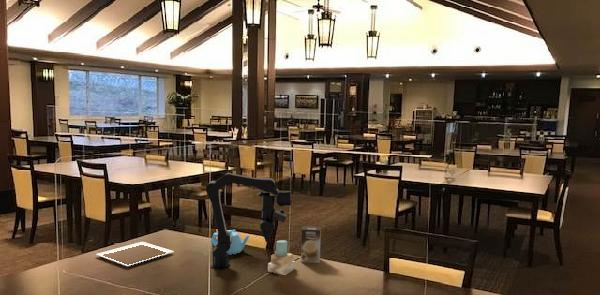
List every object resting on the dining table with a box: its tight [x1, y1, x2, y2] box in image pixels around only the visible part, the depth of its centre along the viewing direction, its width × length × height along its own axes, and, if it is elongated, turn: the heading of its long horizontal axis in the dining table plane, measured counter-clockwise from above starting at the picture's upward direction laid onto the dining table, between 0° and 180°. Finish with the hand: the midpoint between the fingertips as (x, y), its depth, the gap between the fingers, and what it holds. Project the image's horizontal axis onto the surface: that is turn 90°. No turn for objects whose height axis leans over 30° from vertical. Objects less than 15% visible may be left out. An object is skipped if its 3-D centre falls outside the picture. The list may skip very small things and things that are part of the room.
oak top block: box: [270, 252, 294, 266], centre depth 202 cm, size 7×7×4 cm
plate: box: [95, 241, 175, 267], centre depth 219 cm, size 26×26×2 cm
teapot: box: [210, 229, 250, 256], centre depth 228 cm, size 15×15×11 cm
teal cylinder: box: [275, 239, 288, 257], centre depth 201 cm, size 5×5×6 cm
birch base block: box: [267, 260, 296, 276], centre depth 202 cm, size 9×9×4 cm
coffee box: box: [300, 225, 322, 264], centre depth 215 cm, size 9×6×16 cm
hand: (267, 239), depth 206 cm, fingers open, 9 cm apart
